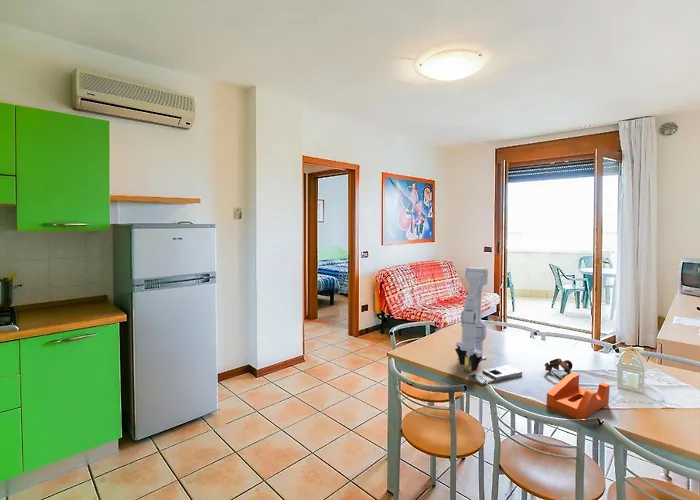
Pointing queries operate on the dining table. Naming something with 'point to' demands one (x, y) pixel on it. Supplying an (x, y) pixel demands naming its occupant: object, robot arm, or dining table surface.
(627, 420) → the dining table surface
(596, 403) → the orange notched block
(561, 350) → the dining table surface
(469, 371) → the brass pin
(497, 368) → the white grey flat block
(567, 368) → the brown jointed arch
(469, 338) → the robot arm
